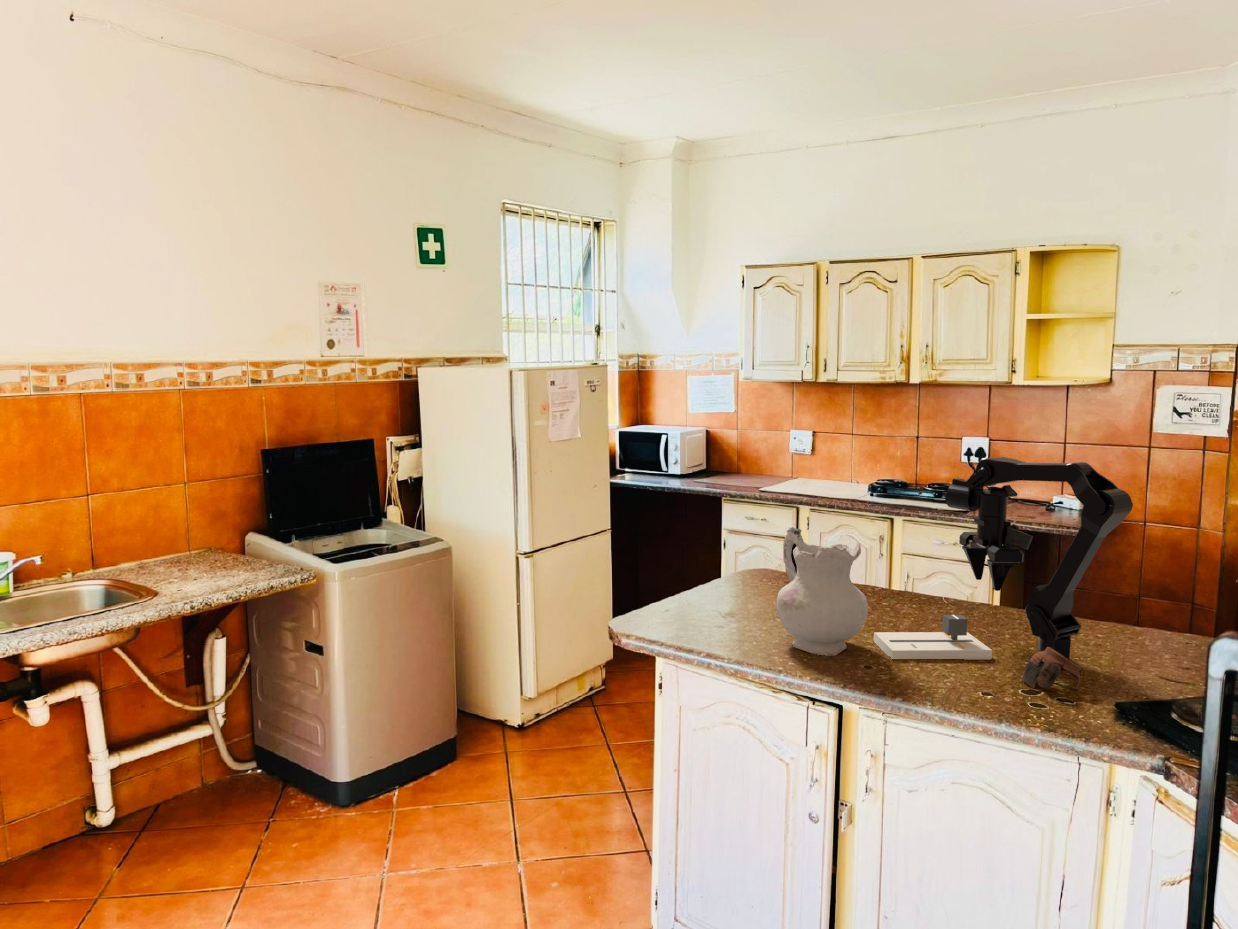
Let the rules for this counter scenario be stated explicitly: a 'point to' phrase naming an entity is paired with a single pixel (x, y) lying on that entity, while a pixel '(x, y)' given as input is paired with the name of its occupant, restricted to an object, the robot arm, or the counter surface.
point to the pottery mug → (1049, 668)
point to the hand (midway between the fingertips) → (987, 585)
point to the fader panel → (931, 646)
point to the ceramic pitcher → (820, 596)
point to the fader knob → (954, 625)
